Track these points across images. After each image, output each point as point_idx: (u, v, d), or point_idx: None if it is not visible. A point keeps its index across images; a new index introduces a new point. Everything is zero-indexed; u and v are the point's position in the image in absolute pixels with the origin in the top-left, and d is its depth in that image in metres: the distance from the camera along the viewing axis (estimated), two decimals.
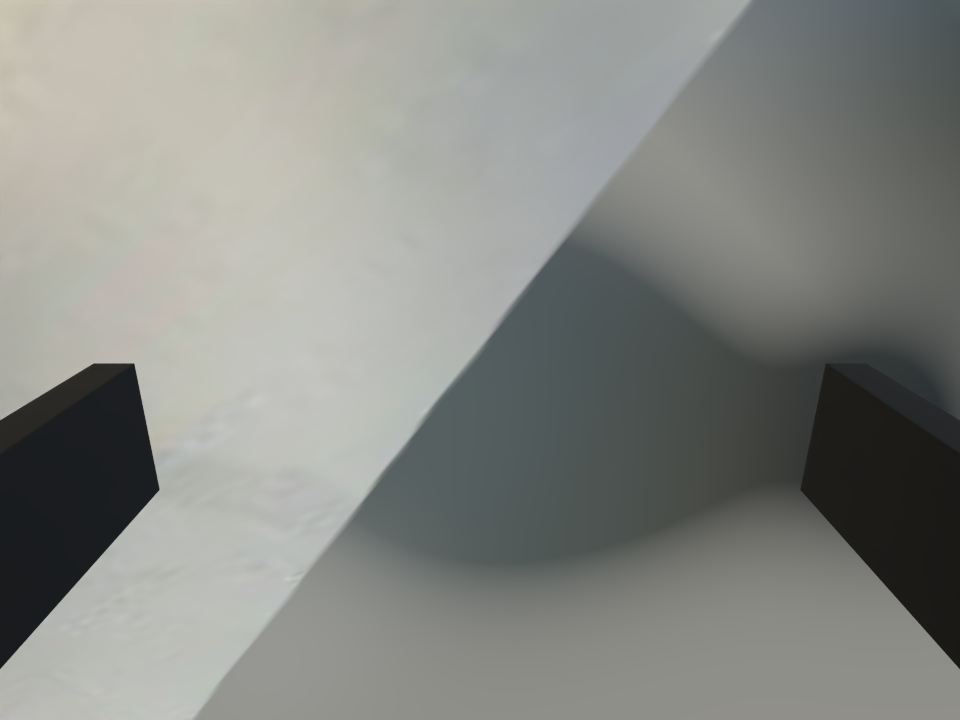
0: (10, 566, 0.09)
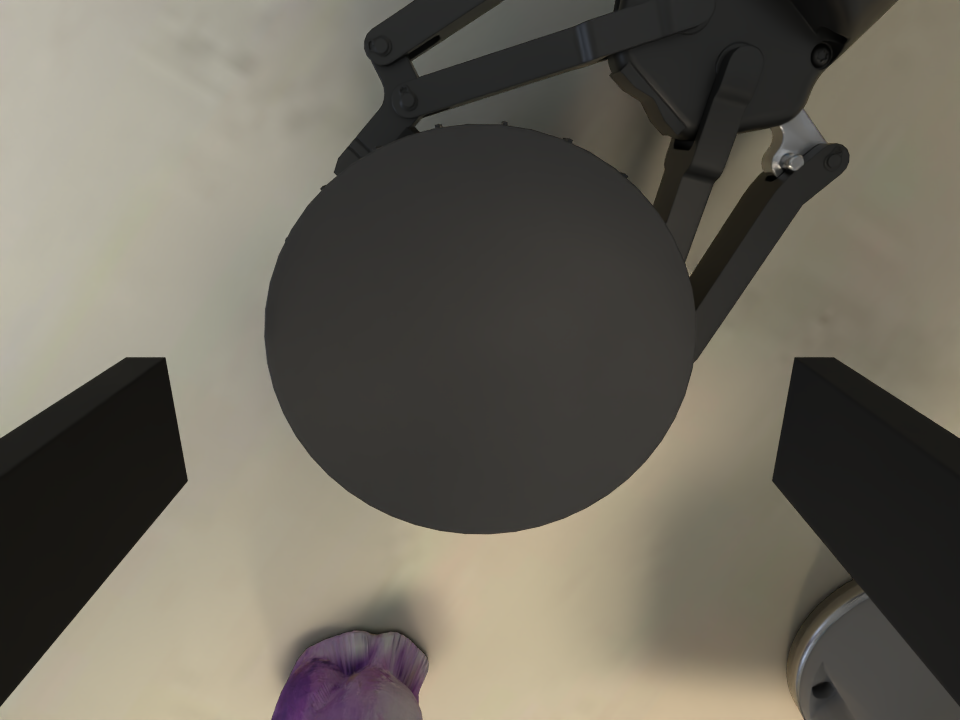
0: (57, 551, 0.09)
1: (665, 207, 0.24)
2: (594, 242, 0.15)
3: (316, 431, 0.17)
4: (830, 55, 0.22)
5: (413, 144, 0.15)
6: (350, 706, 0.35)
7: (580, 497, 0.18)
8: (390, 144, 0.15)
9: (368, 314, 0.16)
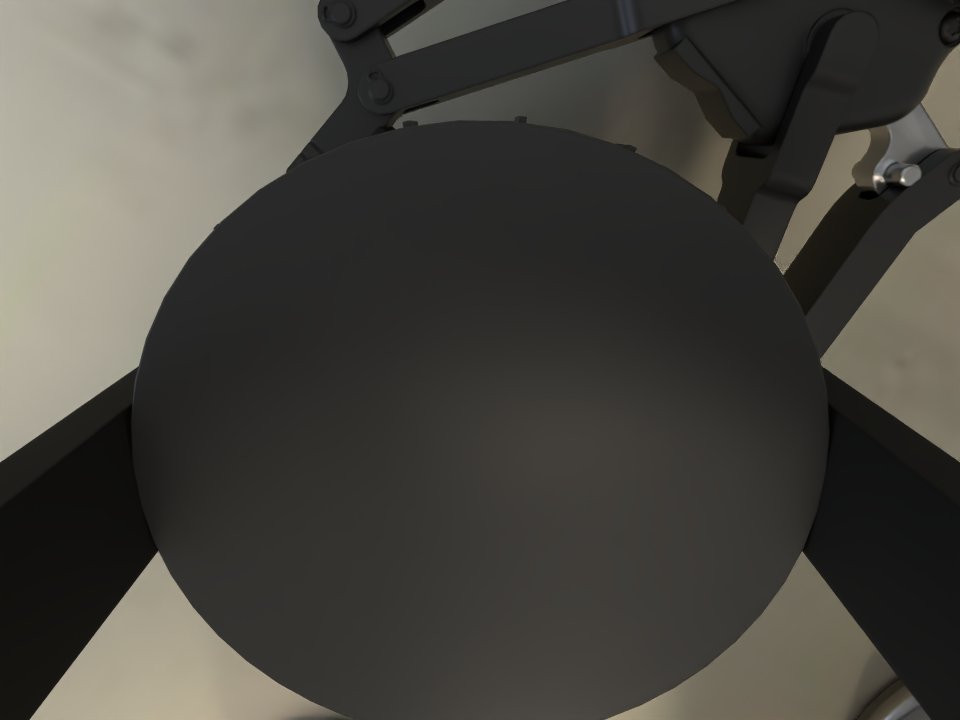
0: (104, 536, 0.09)
1: None
2: (670, 317, 0.09)
3: (224, 600, 0.11)
4: None
5: (364, 155, 0.08)
6: None
7: (632, 690, 0.12)
8: (324, 155, 0.08)
9: (298, 430, 0.10)
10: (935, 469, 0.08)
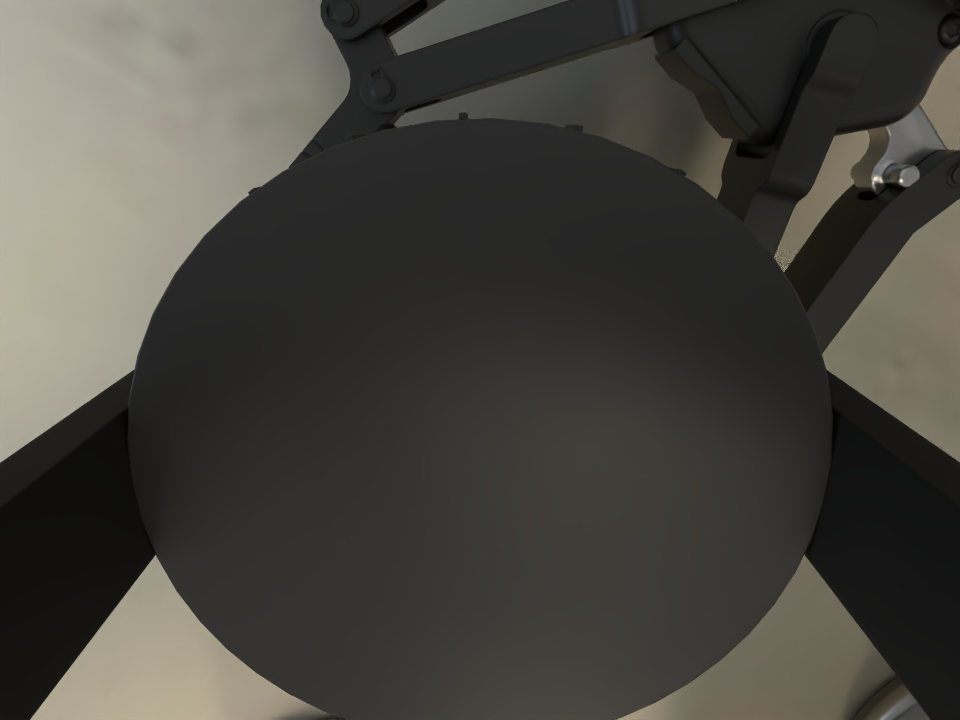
0: (105, 536, 0.09)
1: None
2: (229, 447, 0.10)
3: (727, 616, 0.11)
4: None
5: (290, 684, 0.11)
6: None
7: (635, 185, 0.08)
8: None
9: (517, 636, 0.11)
10: (934, 469, 0.08)
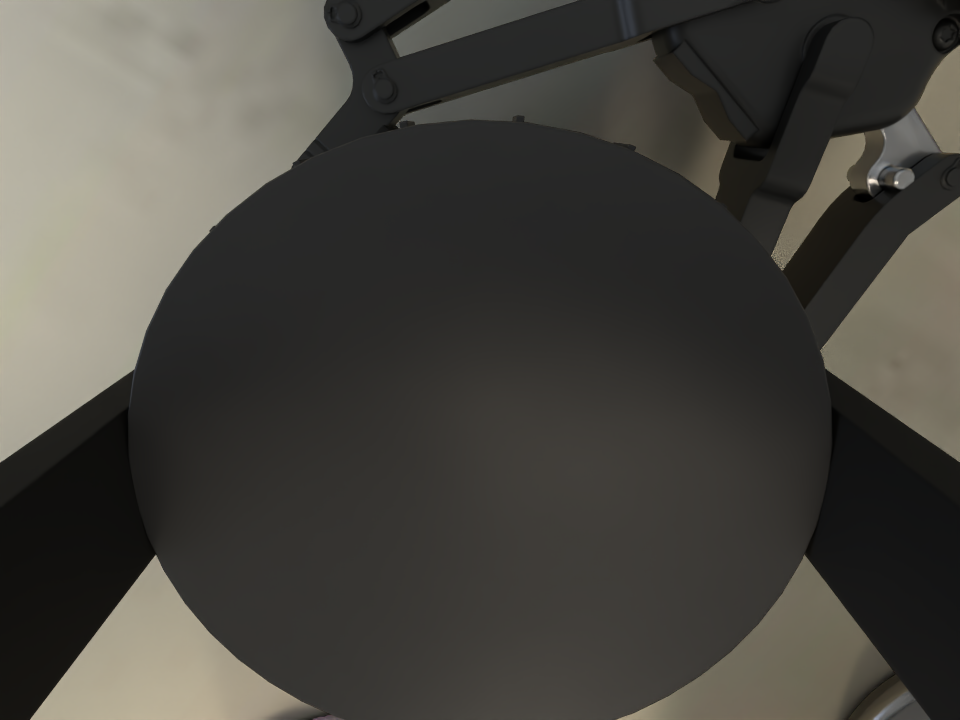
0: (105, 536, 0.09)
1: None
2: (561, 669, 0.11)
3: (463, 167, 0.08)
4: (957, 35, 0.16)
5: (803, 527, 0.10)
6: None
7: (170, 533, 0.10)
8: (822, 503, 0.10)
9: (622, 365, 0.09)
10: (934, 469, 0.08)
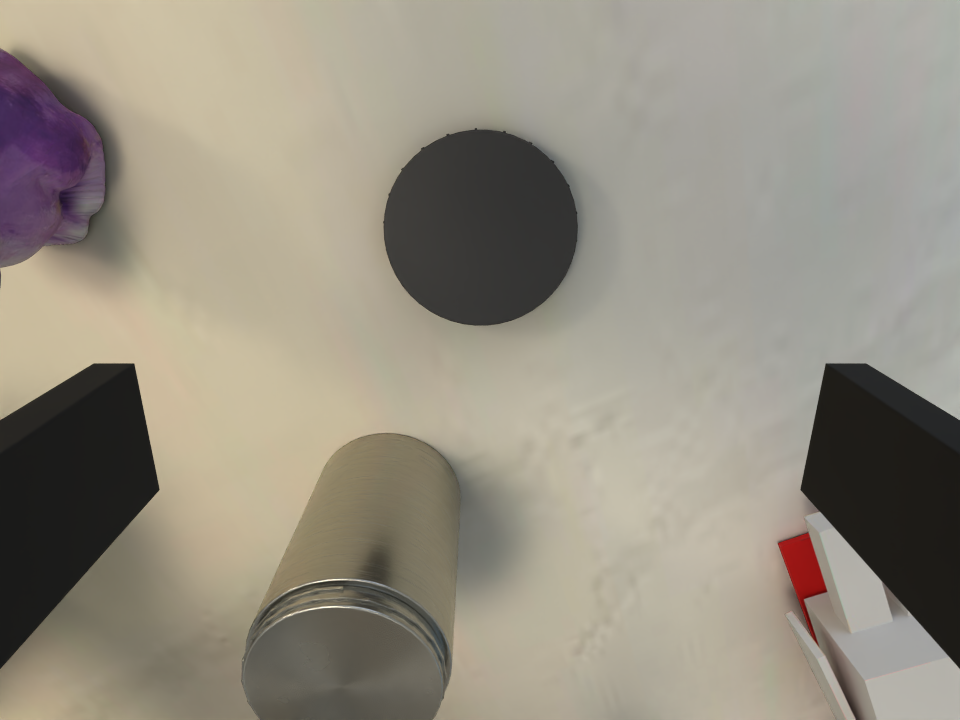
0: (10, 567, 0.09)
1: None
2: (522, 174, 0.35)
3: (411, 282, 0.37)
4: None
5: (438, 144, 0.34)
6: (34, 222, 0.32)
7: (538, 297, 0.37)
8: (429, 145, 0.34)
9: (428, 222, 0.36)
10: None
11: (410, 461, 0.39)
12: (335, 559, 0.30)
